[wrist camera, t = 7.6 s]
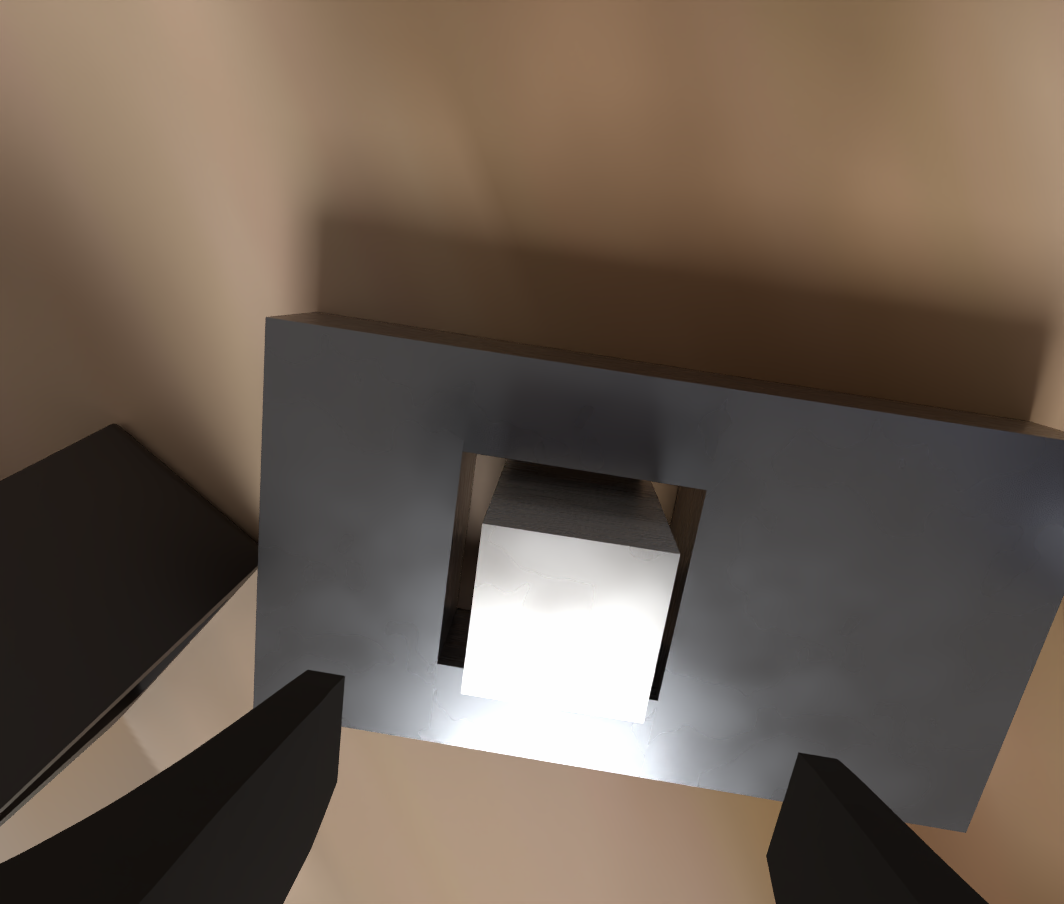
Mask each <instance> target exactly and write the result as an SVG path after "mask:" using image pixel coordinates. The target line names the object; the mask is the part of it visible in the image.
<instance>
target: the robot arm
mask: <svg viewBox="0 0 1064 904" xmlns="http://www.w3.org/2000/svg"><path fill="white" fill-rule="evenodd" d="M344 685H345V676H343V675H337V674H331V673H325V672H319V671H314V670H306V671H305V672H304V673H302V674H301V675H299V676H298V677H296V678H295V679H293V680H292V681H291V682H289V683H288V684H286V685H285V686H284V687H282V688H281V689H280V690H278V691H277V692H276V693H274V694H273V695H271V696H270V697H269V698H267V699H266V700H265V701H263V702H262V703H261V704H259V705H258V706H256V707H255V708H254V709H252V710H251V711H250V712H248V713H247V714H245V715H244V716H243V717H241V718H240V719H239V720H237V721H236V722H234V723H233V724H231V725H230V726H229V727H227V728H226V729H224V730H223V731H221V732H220V733H219V734H217V735H216V736H214V737H213V738H211V739H210V740H209V741H207V742H206V743H204V744H203V745H201V746H200V747H199V748H197V749H196V750H194V751H193V752H191V753H190V754H188V755H187V756H185V757H184V758H182V759H181V760H179V761H178V762H176V763H175V764H173V765H172V766H170V767H168V768H167V769H165V770H164V771H162V772H161V773H159V774H158V775H156V776H154V777H153V778H151V779H150V780H148V781H147V782H145V783H143V784H142V785H140V786H139V787H137V788H136V789H135V790H133V791H131V792H130V793H128V794H126V795H125V796H123V797H121V798H120V799H118V800H116V801H115V802H113V803H111V804H110V805H108V806H106V807H105V808H103V809H101V810H99V811H98V812H96V813H94V814H92V815H91V816H89V817H87V818H85V819H84V820H82V821H80V822H78V823H76V824H75V825H73V826H71V827H69V828H67V829H65V830H64V831H62V832H60V833H58V834H56V835H55V836H53V837H51V838H49V839H47V840H45V841H43V842H42V843H40V844H38V845H36V846H34V847H32V848H30V849H29V850H27V851H25V852H23V853H21V854H20V855H17V856H15V857H13V858H11V859H9V860H7V861H5V862H3V863H1V864H0V904H283V903H284V901H285V899H286V897H287V895H288V893H289V891H290V889H291V887H292V885H293V883H294V881H295V879H296V877H297V875H298V873H299V871H300V870H301V868H302V866H303V864H304V862H305V860H306V858H307V856H308V854H309V852H310V850H311V848H312V845H313V843H314V840H315V838H316V835H317V833H318V830H319V828H320V825H321V822H322V820H323V817H324V815H325V812H326V810H327V807H328V804H329V802H330V799H331V796H332V794H333V791H334V789H335V786H336V783H337V777H338V764H339V750H340V737H341V724H342V711H343V698H344ZM766 857H767V862H768V867H769V872H770V877H771V882H772V887H773V892H774V897H775V901H776V904H989V903H987V902H986V901H985V900H984V899H983V898H982V897H981V896H980V895H979V894H978V893H977V892H976V891H975V890H974V889H973V888H971V887H970V886H969V885H968V884H967V883H966V882H965V881H964V880H963V879H962V878H961V877H960V876H959V875H958V874H957V873H956V872H955V871H954V870H953V869H952V868H951V867H949V866H948V865H947V864H946V863H945V862H944V861H943V860H942V859H941V858H940V857H939V856H938V855H937V854H936V853H935V852H934V851H933V850H932V849H931V848H930V847H929V846H928V845H927V844H926V843H925V842H924V841H923V840H922V839H921V838H920V837H919V836H918V835H917V834H916V833H915V832H914V831H913V830H912V829H910V828H909V827H908V826H907V825H906V824H905V823H904V822H903V821H902V820H901V819H900V818H899V817H898V816H897V815H896V814H895V813H894V812H893V811H892V810H891V809H890V808H889V807H888V806H887V805H886V804H885V803H884V802H883V801H882V800H881V799H880V798H879V797H878V796H877V795H876V794H875V793H874V792H873V791H872V790H871V789H870V788H869V787H868V786H867V785H866V784H865V783H863V782H862V781H861V780H860V779H859V778H858V777H857V776H856V775H855V774H854V773H853V772H852V771H851V770H850V769H849V768H847V767H846V766H845V765H844V764H843V763H842V762H841V761H840V760H838V759H835V758H829V757H823V756H817V755H811V754H806V753H800V752H798V755H797V759H796V762H795V765H794V768H793V771H792V775H791V778H790V781H789V784H788V788H787V791H786V794H785V797H784V800H783V804H782V807H781V810H780V813H779V817H778V820H777V823H776V826H775V830H774V833H773V836H772V839H771V842H770V846H769V849H768V852H767V855H766Z"/></svg>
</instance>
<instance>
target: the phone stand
mask: <svg viewBox="0 0 1064 904" xmlns="http://www.w3.org/2000/svg"><path fill="white" fill-rule="evenodd" d="M258 546H259V545H258V544H257V543H256V542H255V541H254V540H252V539H251V538H250V537H249V536H248V535H246V534H245V533H244V532H243V531H242V530H241V529H239V528H238V527H237V526H236V525H235V524H234V523H232V522H231V521H230V520H229V519H228V518H226V517H225V516H224V515H223V514H222V513H221V512H219V511H218V510H217V509H216V508H215V507H214V506H212V505H211V504H210V503H209V502H208V501H207V500H205V499H204V498H203V497H202V496H201V495H199V494H198V493H197V492H196V491H195V490H194V489H192V488H191V487H190V486H189V485H188V484H187V483H185V482H184V481H183V480H182V479H181V478H180V477H178V476H177V475H176V474H175V473H174V472H172V471H171V470H170V469H169V468H168V467H167V466H165V465H164V464H163V463H162V462H161V461H160V460H158V459H157V458H156V457H155V456H154V455H153V454H151V453H150V452H149V451H148V450H147V449H145V448H144V447H143V446H142V445H141V444H140V443H138V442H137V441H136V440H135V439H134V438H133V437H131V436H130V435H129V434H128V433H127V432H125V431H124V430H123V429H122V428H121V427H120V426H118V425H117V424H111V425H109V426H107V427H105V428H103V429H101V430H99V431H97V432H96V433H94V434H92V435H90V436H88V437H86V438H84V439H82V440H80V441H78V442H76V443H74V444H72V445H70V446H68V447H66V448H64V449H62V450H60V451H58V452H56V453H54V454H52V455H50V456H49V457H47V458H45V459H43V460H41V461H39V462H37V463H35V464H33V465H31V466H29V467H27V468H25V469H23V470H21V471H19V472H17V473H15V474H13V475H11V476H9V477H7V478H5V479H3V480H2V481H0V826H1V825H2V824H4V823H5V822H6V821H7V820H8V819H9V818H10V817H11V816H12V815H14V814H15V813H16V812H17V811H18V810H19V809H20V808H21V807H22V806H24V805H25V804H26V803H27V802H28V801H29V800H30V799H31V798H32V797H34V795H36V794H37V793H38V792H39V791H40V790H41V789H42V788H44V787H45V786H46V785H47V784H48V783H49V782H50V781H51V780H52V779H54V778H55V777H56V776H57V775H58V774H59V773H60V772H61V771H62V770H63V769H65V768H66V767H67V766H68V765H69V764H70V763H71V762H72V761H74V760H75V758H77V757H78V756H79V755H80V754H81V753H82V752H84V751H85V750H86V749H87V748H88V747H89V746H90V745H91V744H92V743H93V742H95V741H96V739H98V738H99V737H100V736H101V735H102V734H104V733H105V732H106V731H107V730H108V729H109V728H110V727H111V726H112V725H113V724H114V723H115V722H116V721H117V720H118V719H119V718H120V717H121V716H122V715H123V714H124V713H125V712H126V711H127V710H128V709H129V708H130V707H131V706H132V705H133V704H134V702H135V701H136V700H137V699H138V698H139V697H140V696H141V695H142V694H143V693H144V692H145V690H146V689H147V688H148V687H149V686H150V685H151V684H152V683H153V682H154V681H155V680H156V679H157V677H158V676H159V675H160V674H161V673H162V672H163V671H164V670H165V669H166V668H167V667H168V665H169V664H170V663H171V662H172V661H173V660H174V659H175V658H176V657H177V656H178V655H179V654H180V652H181V651H182V650H183V649H184V648H185V647H186V646H187V645H188V644H189V643H190V641H191V640H192V639H193V638H194V637H195V636H196V635H197V634H198V633H199V632H200V631H201V630H202V628H203V627H204V626H205V625H206V624H207V623H208V622H209V621H210V620H211V619H212V618H213V617H214V615H215V614H216V613H217V612H218V611H219V610H220V609H221V608H222V607H223V606H224V605H225V603H226V602H227V601H228V600H229V599H230V598H231V597H232V596H233V595H234V594H235V593H236V592H237V590H238V589H239V588H240V587H241V586H242V585H243V584H244V583H245V582H246V581H247V580H248V578H249V577H250V576H251V575H252V574H253V573H254V572H255V571H256V570H257V569H258Z"/></svg>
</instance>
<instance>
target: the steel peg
mask: <svg viewBox="0 0 1064 904" xmlns="http://www.w3.org/2000/svg"><path fill="white" fill-rule="evenodd" d="M679 558H680V552H679V550H678V547H677V545H676V542H675V540H674V537H673V535H672V532H671V530H670V527H669V525H668V522H667V520H666V517H665V515H664V512H663V510H662V507H661V505H660V502H659V500H658V497H657V495H656V492H655V490H654V487H653V485H652V482H651V481H646V480H640V479H633V478H627V477H621V476H615V475H608V474H602V473H596V472H589V471H583V470H577V469H570V468H564V467H558V466H551V465H545V464H539V463H532V462H526V461H520V460H513V459H507V461H506V463H505V466H504V468H503V471H502V474H501V476H500V479H499V481H498V484H497V487H496V489H495V492H494V495H493V497H492V500H491V502H490V505H489V508H488V510H487V513H486V515H485V518H484V521H483V523H482V531H481V538H480V546H479V554H478V562H477V570H476V578H475V586H474V594H473V601H472V609H471V617H470V625H469V633H468V641H467V649H466V657H465V665H464V672H463V680H462V688H461V694H466V695H473V696H479V697H485V698H491V699H497V700H503V701H510V702H516V703H522V704H528V705H534V706H540V707H547V708H553V709H559V710H565V711H571V712H577V713H584V714H590V715H596V716H602V717H608V718H615V719H621V720H627V721H633V722H639V723H643V722H644V717H645V713H646V708H647V704H648V699H649V695H650V690H651V686H652V681H653V677H654V672H655V667H656V663H657V658H658V654H659V649H660V645H661V640H662V636H663V631H664V626H665V622H666V617H667V613H668V608H669V604H670V599H671V595H672V590H673V585H674V581H675V576H676V572H677V567H678V563H679Z"/></svg>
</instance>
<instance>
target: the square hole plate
mask: <svg viewBox="0 0 1064 904" xmlns="http://www.w3.org/2000/svg"><path fill="white" fill-rule="evenodd" d="M477 454H482V455H488V456H495V457H501V458H507V459H513V460H520V461H526V462H532V463H539V464H545V465H551V466H558V467H564V468H570V469H577V470H583V471H589V472H596V473H602V474H608V475H615V476H621V477H627V478H633V479H640V480H646V481H652V482H659V483H665V484H671V485H678V486H679V489H678V493H677V498H676V503H675V507H674V512H673V516H672V521H671V525H670V530H671V532H672V535H673V537H674V540H675V542H676V545H677V547H678V550H679V552H680V558H679V563H678V567H677V572H676V576H675V581H674V585H673V590H672V595H671V599H670V604H669V608H668V613H667V617H666V622H665V626H664V631H663V636H662V640H661V645H660V649H659V654H658V658H657V663H656V667H655V672H654V677H653V681H652V686H651V690H650V695H649V699H648V704H647V708H646V713H645V717H644V722H643V723H639V722H633V721H627V720H621V719H615V718H608V717H602V716H596V715H590V714H584V713H577V712H571V711H565V710H559V709H553V708H547V707H540V706H534V705H528V704H522V703H516V702H510V701H503V700H497V699H491V698H485V697H479V696H473V695H466V694H461V688H462V680H463V672H464V665H465V657H466V649H467V641H468V633H469V625H470V617H471V611H469V610H463V609H457V605H458V597H459V589H460V581H461V573H462V565H463V557H464V549H465V541H466V534H467V526H468V518H469V510H470V502H471V494H472V486H473V478H474V470H475V463H476V455H477ZM1063 596H1064V432H1063V431H1060V430H1057V429H1053V428H1050V427H1047V426H1043V425H1040V424H1036V423H1033V422H1029V421H1022V420H1016V419H1009V418H1003V417H996V416H990V415H983V414H977V413H970V412H964V411H957V410H951V409H944V408H938V407H931V406H925V405H918V404H912V403H905V402H899V401H892V400H886V399H879V398H873V397H866V396H860V395H853V394H847V393H840V392H834V391H827V390H821V389H814V388H808V387H801V386H795V385H788V384H782V383H775V382H769V381H762V380H756V379H749V378H743V377H736V376H730V375H723V374H716V373H710V372H703V371H697V370H690V369H684V368H677V367H671V366H664V365H658V364H651V363H645V362H638V361H632V360H625V359H619V358H612V357H606V356H599V355H593V354H586V353H580V352H573V351H567V350H560V349H554V348H547V347H541V346H534V345H528V344H521V343H515V342H508V341H502V340H495V339H489V338H482V337H476V336H469V335H463V334H456V333H450V332H443V331H437V330H430V329H424V328H417V327H411V326H404V325H398V324H391V323H385V322H378V321H372V320H365V319H359V318H352V317H346V316H339V315H333V314H326V313H320V312H311V313H301V314H292V315H282V316H272V317H266V324H265V356H264V387H263V419H262V451H261V482H260V514H259V546H258V577H257V609H256V641H255V672H254V704H253V709H254V708H255V707H256V706H258V705H259V704H261V703H262V702H263V701H265V700H266V699H267V698H269V697H270V696H271V695H273V694H274V693H276V692H277V691H278V690H280V689H281V688H282V687H284V686H285V685H286V684H288V683H289V682H291V681H292V680H293V679H295V678H296V677H298V676H299V675H301V674H302V673H304V672H305V671H306V670H314V671H319V672H325V673H331V674H337V675H343V676H345V685H344V698H343V711H342V724H341V726H342V727H348V728H354V729H359V730H365V731H371V732H377V733H383V734H389V735H395V736H401V737H406V738H412V739H418V740H424V741H430V742H436V743H442V744H448V745H453V746H459V747H465V748H471V749H477V750H483V751H489V752H495V753H500V754H506V755H512V756H518V757H524V758H530V759H536V760H542V761H547V762H553V763H559V764H565V765H571V766H577V767H583V768H589V769H594V770H600V771H606V772H612V773H618V774H624V775H630V776H636V777H641V778H647V779H653V780H659V781H665V782H671V783H677V784H683V785H688V786H694V787H700V788H706V789H712V790H718V791H724V792H730V793H735V794H741V795H747V796H753V797H759V798H765V799H771V800H777V801H782V802H783V800H784V797H785V794H786V791H787V788H788V784H789V781H790V778H791V775H792V771H793V768H794V765H795V762H796V759H797V755H798V752H800V753H806V754H811V755H817V756H823V757H829V758H835V759H838V760H840V761H841V762H842V763H843V764H844V765H845V766H846V767H847V768H849V769H850V770H851V771H852V772H853V773H854V774H855V775H856V776H857V777H858V778H859V779H860V780H861V781H862V782H863V783H865V784H866V785H867V786H868V787H869V788H870V789H871V790H872V791H873V792H874V793H875V794H876V795H877V796H878V797H879V798H880V799H881V800H882V801H883V802H884V803H885V804H886V805H887V806H888V807H889V808H890V809H891V810H892V811H893V812H894V813H895V814H896V815H897V816H898V817H899V818H900V819H901V820H902V821H903V822H906V823H912V824H918V825H923V826H929V827H935V828H941V829H947V830H953V831H959V832H965V833H966V831H967V829H968V826H969V824H970V821H971V819H972V816H973V814H974V812H975V809H976V807H977V804H978V802H979V800H980V797H981V795H982V792H983V790H984V787H985V785H986V783H987V780H988V778H989V775H990V773H991V770H992V768H993V766H994V763H995V761H996V758H997V756H998V753H999V751H1000V749H1001V746H1002V744H1003V741H1004V739H1005V736H1006V734H1007V732H1008V729H1009V727H1010V724H1011V722H1012V719H1013V717H1014V715H1015V712H1016V710H1017V707H1018V705H1019V702H1020V700H1021V698H1022V695H1023V693H1024V690H1025V688H1026V685H1027V683H1028V681H1029V678H1030V676H1031V673H1032V671H1033V668H1034V666H1035V664H1036V661H1037V659H1038V656H1039V654H1040V651H1041V649H1042V647H1043V644H1044V642H1045V639H1046V637H1047V634H1048V632H1049V630H1050V627H1051V625H1052V622H1053V620H1054V617H1055V615H1056V613H1057V610H1058V608H1059V605H1060V603H1061V600H1062V598H1063Z"/></svg>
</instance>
